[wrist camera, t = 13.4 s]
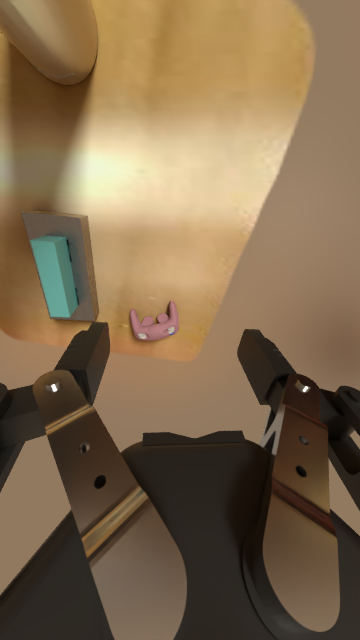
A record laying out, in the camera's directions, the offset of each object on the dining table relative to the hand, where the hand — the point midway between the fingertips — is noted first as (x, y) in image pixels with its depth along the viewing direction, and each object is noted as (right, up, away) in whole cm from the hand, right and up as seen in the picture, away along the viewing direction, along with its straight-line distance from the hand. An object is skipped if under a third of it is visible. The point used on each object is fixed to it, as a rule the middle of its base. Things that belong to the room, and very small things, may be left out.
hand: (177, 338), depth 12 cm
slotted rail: (-20, +11, +25) cm, 33 cm away
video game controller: (-5, +2, +32) cm, 32 cm away
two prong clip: (-20, +10, +24) cm, 33 cm away
